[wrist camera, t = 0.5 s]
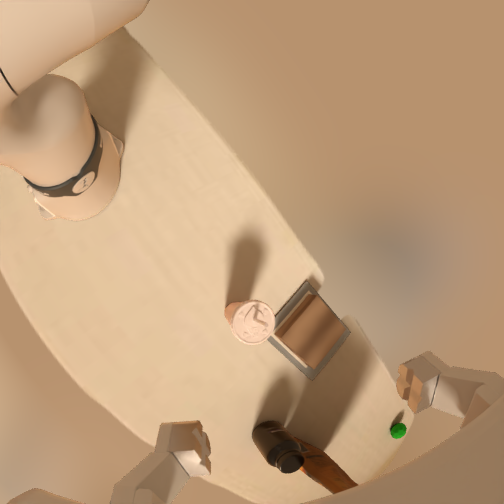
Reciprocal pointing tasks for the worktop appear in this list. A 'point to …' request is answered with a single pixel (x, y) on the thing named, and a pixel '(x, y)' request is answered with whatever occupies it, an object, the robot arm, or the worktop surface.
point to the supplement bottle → (278, 447)
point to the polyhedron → (398, 430)
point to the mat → (285, 314)
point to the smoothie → (250, 321)
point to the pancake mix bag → (324, 469)
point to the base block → (311, 331)
